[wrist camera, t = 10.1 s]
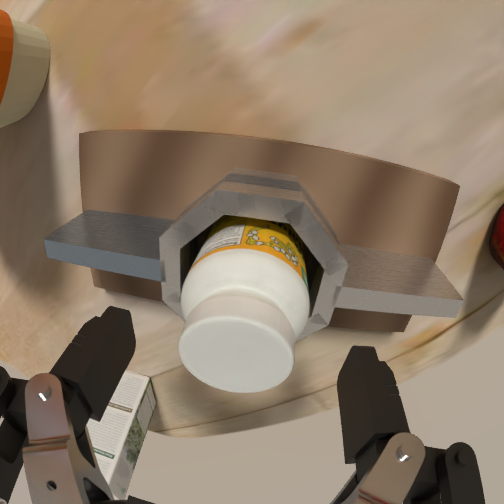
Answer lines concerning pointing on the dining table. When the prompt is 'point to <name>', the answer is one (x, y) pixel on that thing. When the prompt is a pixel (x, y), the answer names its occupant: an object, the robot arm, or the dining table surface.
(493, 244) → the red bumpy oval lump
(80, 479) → the robot arm
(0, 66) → the reusable coffee cup
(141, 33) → the dining table surface
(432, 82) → the dining table surface
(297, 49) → the dining table surface
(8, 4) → the dining table surface
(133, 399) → the syrup box
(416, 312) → the grey winged octagonal holder
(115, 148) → the board
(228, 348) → the supplement bottle
